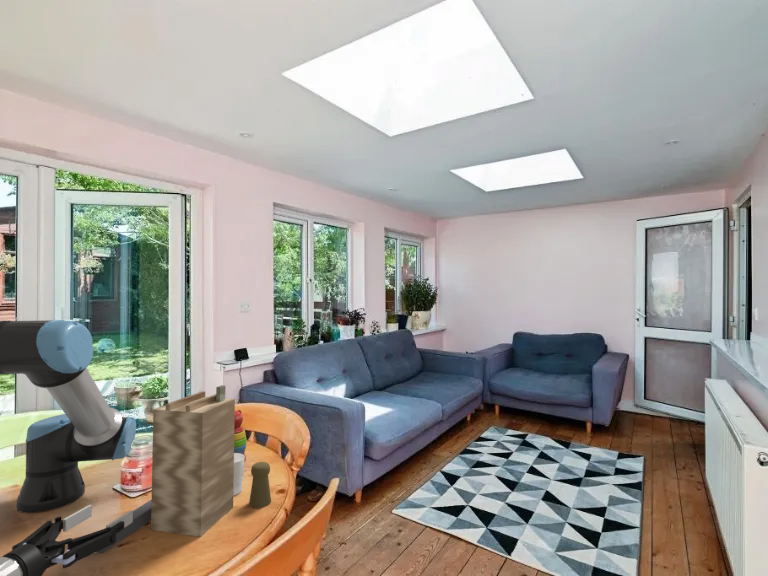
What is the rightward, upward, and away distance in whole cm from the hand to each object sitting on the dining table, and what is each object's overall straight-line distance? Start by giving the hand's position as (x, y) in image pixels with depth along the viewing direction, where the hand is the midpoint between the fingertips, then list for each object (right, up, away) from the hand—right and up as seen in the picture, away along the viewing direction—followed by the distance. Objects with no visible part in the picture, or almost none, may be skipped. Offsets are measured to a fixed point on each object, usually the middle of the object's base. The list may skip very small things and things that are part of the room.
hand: (110, 513), depth 96 cm
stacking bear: (+11, -8, +46) cm, 48 cm away
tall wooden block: (+15, -7, +10) cm, 19 cm away
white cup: (+19, -7, +25) cm, 32 cm away
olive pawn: (+30, -7, +18) cm, 36 cm away
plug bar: (+2, -7, +7) cm, 10 cm away
